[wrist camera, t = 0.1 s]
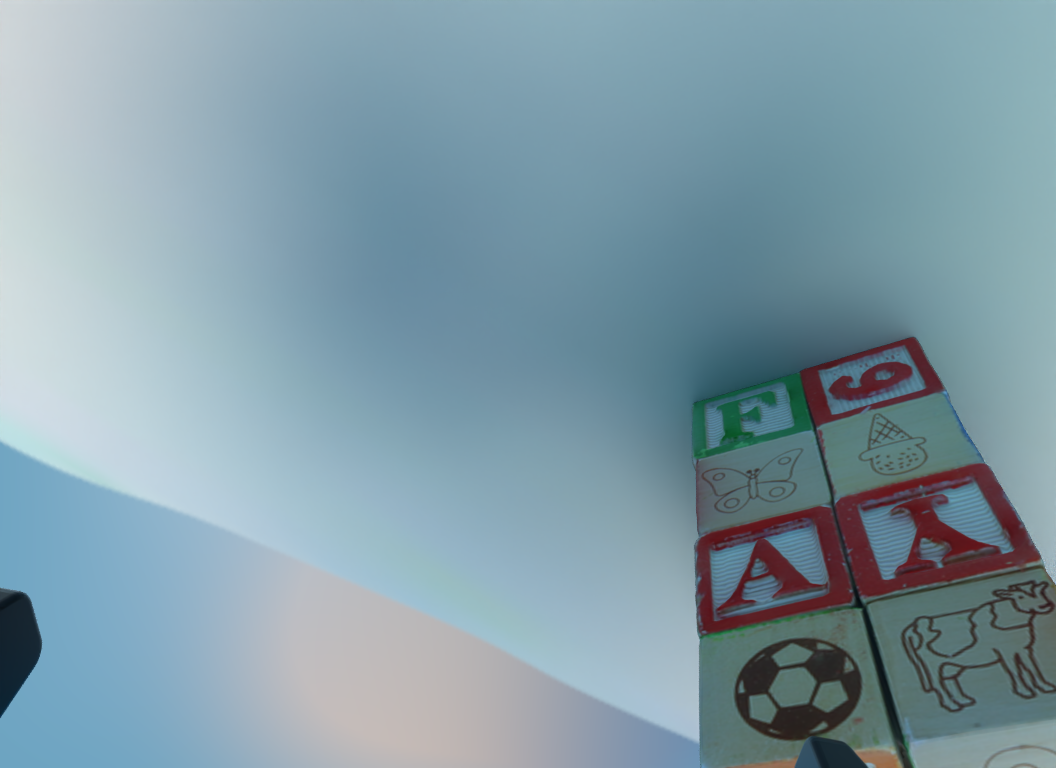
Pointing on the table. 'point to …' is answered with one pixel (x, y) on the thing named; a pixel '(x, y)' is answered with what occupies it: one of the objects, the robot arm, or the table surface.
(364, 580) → the table surface
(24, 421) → the table surface
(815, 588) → the stack of blocks
